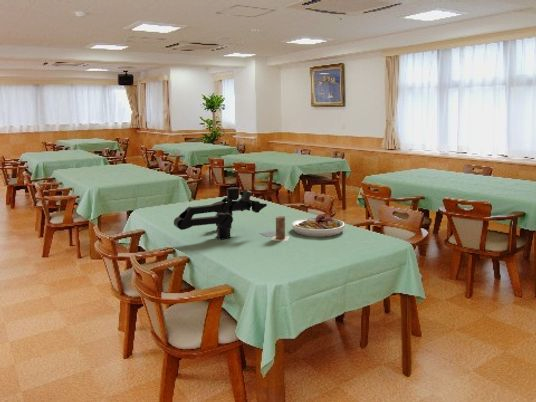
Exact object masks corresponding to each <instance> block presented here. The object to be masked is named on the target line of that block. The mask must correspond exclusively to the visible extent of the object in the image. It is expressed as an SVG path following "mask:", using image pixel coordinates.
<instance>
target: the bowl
mask: <svg viewBox="0 0 536 402" xmlns="http://www.w3.org/2000/svg"><path fill="white" fill-rule="evenodd" d="M291 225H292V230H293V231H294V232H295V233H296V234H299V235H300V236H301V235H302V236H304V237H305V236H306V237H313V238H314V237H315V238H316V237H318V238H323V237H325V236H327V237H333V236H336V234H337V235H339V234H340V233H343V230H344V229H345V223H344V221H341V220H339V219H335V218H333V217H332V216H329V215H328V216H325V215H324V214H323V213H320V214H319V213H318V215H317V216H316V217H309V218H306V217H305V218H301V219H296V220H294V221H293V222H292V223H291ZM332 235H333V236H332ZM325 238H326V237H325Z"/></svg>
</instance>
